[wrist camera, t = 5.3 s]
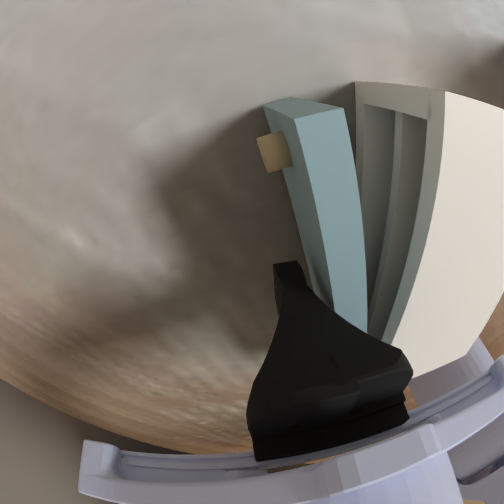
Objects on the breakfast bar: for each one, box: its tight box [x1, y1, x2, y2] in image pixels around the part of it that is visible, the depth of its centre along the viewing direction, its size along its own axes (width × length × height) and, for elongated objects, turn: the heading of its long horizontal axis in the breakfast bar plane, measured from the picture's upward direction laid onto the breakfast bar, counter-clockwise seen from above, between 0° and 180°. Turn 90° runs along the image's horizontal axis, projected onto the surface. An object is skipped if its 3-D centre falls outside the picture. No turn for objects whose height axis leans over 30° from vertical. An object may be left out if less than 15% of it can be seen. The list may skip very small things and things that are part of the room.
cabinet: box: [355, 81, 504, 379], centre depth 12 cm, size 15×8×6 cm, turn 6°
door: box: [256, 97, 367, 333], centre depth 12 cm, size 14×2×6 cm, turn 18°
